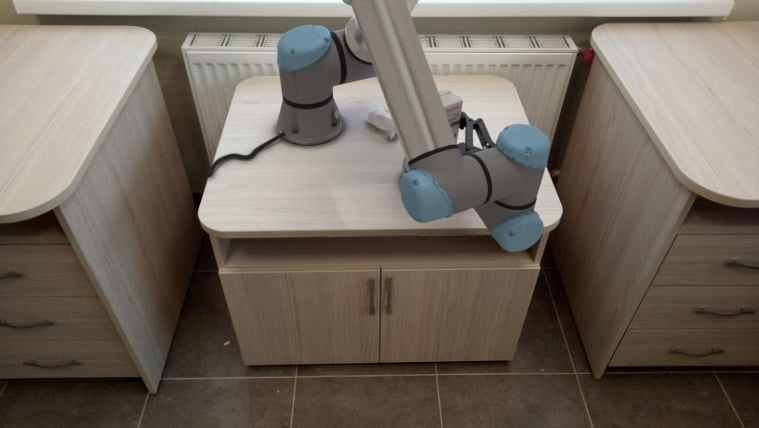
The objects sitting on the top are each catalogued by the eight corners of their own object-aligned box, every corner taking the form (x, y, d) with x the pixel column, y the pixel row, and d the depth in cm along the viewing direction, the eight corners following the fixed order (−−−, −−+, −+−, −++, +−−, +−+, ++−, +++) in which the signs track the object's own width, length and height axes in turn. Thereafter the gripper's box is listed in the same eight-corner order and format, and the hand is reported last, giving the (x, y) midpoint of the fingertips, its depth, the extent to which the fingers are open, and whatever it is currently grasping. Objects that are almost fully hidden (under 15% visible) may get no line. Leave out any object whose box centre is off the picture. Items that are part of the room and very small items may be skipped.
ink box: (423, 163, 107) (428, 112, 99) (409, 150, 110) (412, 99, 102) (457, 149, 111) (464, 98, 102) (442, 137, 114) (448, 87, 105)
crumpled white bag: (405, 134, 131) (376, 110, 134) (407, 116, 125) (377, 91, 128) (390, 145, 129) (361, 120, 132) (392, 128, 123) (362, 102, 126)
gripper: (419, 208, 93) (375, 136, 109) (529, 182, 99) (473, 117, 114) (422, 174, 88) (375, 104, 104) (538, 148, 94) (478, 85, 109)
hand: (426, 111), depth 109 cm, fingers closed on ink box, 9 cm apart
